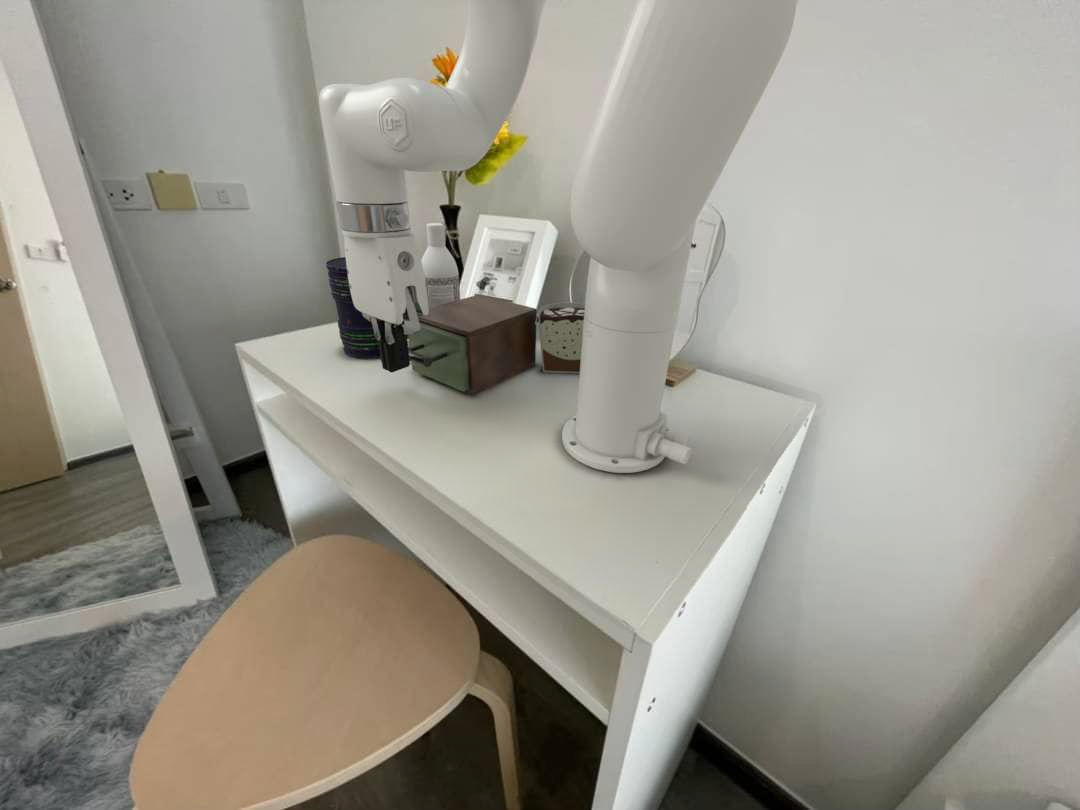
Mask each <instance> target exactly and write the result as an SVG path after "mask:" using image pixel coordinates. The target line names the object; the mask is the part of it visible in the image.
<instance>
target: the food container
mask: <svg viewBox="0 0 1080 810" xmlns="http://www.w3.org/2000/svg"><path fill="white" fill-rule="evenodd" d="M584 312H585V302H557V303H550V304H547V305H544V306H541V307H540V309H538V312H537V313H536V314H537V317H536V321H535V324H536V325H537V323H538V326H539V328H538V329H539V341H540V353H541V364H542V372H543V373H556V374H579V375H580V362H581V349H582V336H583V323H584Z"/></svg>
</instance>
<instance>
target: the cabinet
mask: <svg viewBox="0 0 1080 810" xmlns="http://www.w3.org/2000/svg"><path fill="white" fill-rule="evenodd" d="M537 314H538V311H537V308H535V307H530V306H527V305H523V304H519V303H516V302H515V303H514V302H511V301H507V300H504V299H498V298H495V297H491V296H487V295H483V294H476V295H472V296H468V297H464V298H460V300H457V301H453V302H449V303H446V304H442V305H438V306H435V307H431V308H429V314H428V316H427V317H424V318H420V317H418V320H419V322H421V323H423V322H424V323H427V324H430V325H434V326H437V327H440V328H443V329H446V330H449V331H452V332H455V333H458V334H461V335H464V336H466V338H467V354H468V371H469V388H470V389H468V390H466V391H464V393H466V394H468V395H471V396H475V395H477V394H479V393H482V392H483V391H485V390H488V389H489V388H491V387H493V386H496V385H497V384H499V383H501V382H503V381H505V380H508V379H509V378H513V377H514V376H517V375H518V374H519V373H522V372H524V371H526V370H528V369H530V368H532V367H535V366H536V362H537V361H536V359H537V358H536V354H537V323H536V324H535V321H536V317H537Z"/></svg>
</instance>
